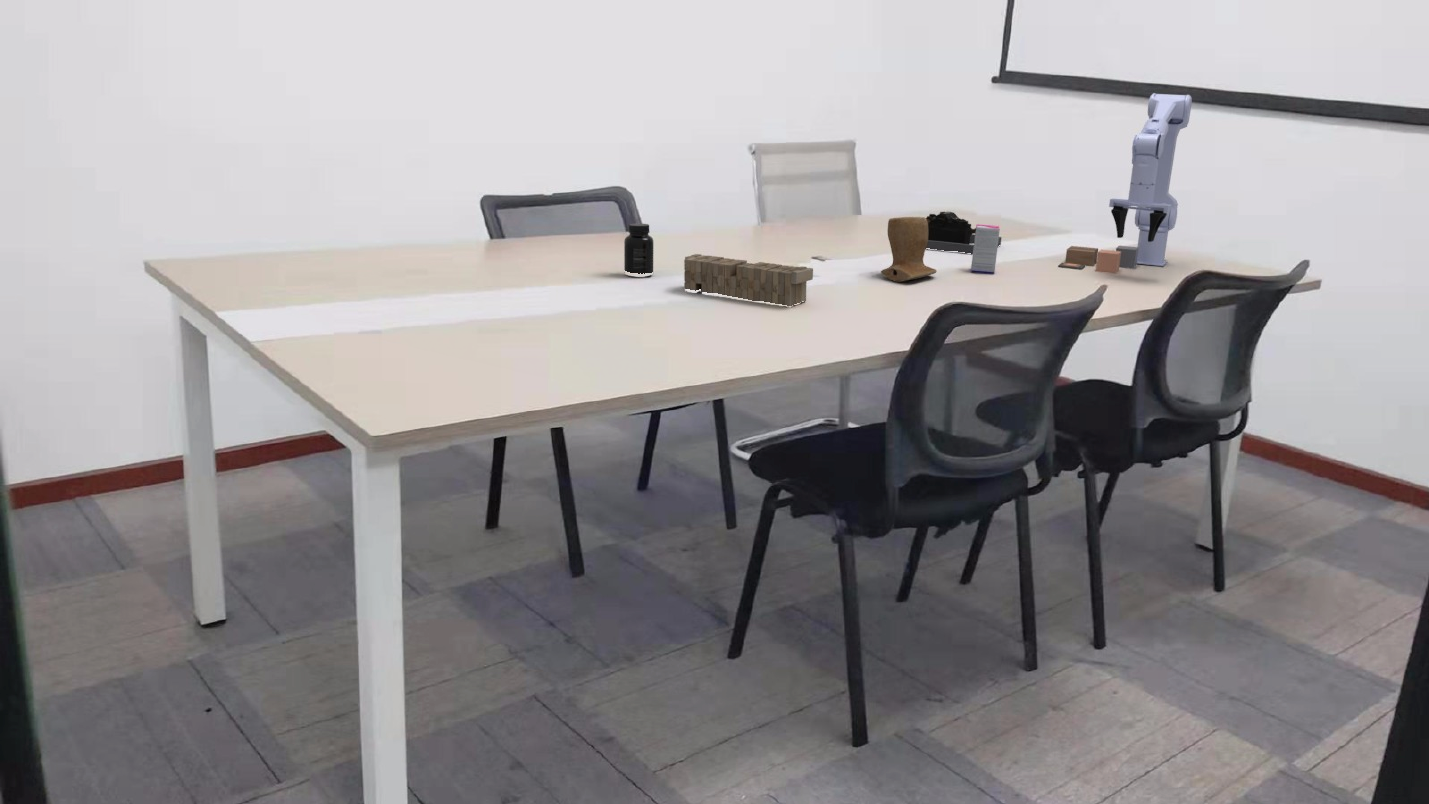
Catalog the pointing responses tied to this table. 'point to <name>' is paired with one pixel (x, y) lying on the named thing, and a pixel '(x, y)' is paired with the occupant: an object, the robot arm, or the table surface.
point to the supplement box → (985, 249)
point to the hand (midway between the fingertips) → (1135, 239)
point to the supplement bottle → (638, 249)
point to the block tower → (747, 279)
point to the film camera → (949, 228)
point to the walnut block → (1081, 255)
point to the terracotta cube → (1108, 261)
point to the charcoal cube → (1128, 256)
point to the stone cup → (907, 248)
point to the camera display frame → (954, 245)
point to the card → (1071, 266)
